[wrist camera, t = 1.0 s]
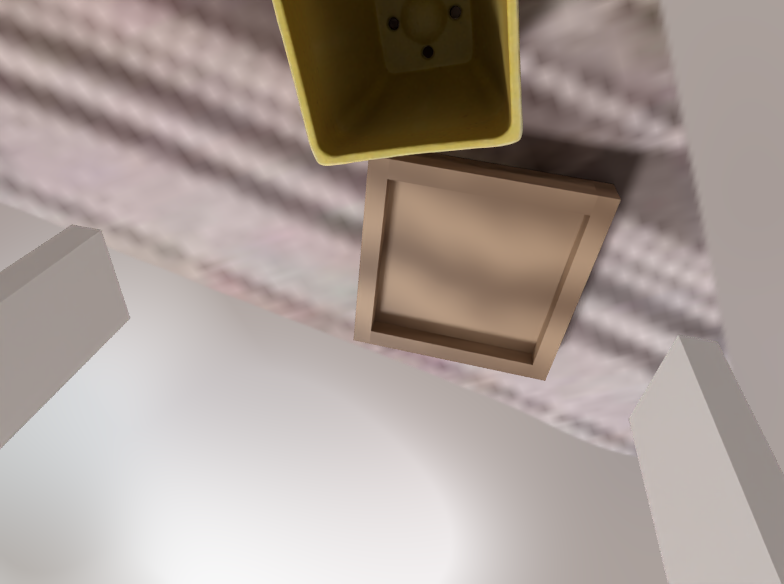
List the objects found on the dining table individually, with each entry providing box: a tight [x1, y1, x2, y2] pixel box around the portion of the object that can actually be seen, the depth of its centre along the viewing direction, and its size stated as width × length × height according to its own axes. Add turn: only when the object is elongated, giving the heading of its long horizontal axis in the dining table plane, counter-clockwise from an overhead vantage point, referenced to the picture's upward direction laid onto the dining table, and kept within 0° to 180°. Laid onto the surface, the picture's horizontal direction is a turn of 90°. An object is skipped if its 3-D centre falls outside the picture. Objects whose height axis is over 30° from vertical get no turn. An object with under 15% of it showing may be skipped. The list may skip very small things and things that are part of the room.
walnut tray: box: [354, 153, 621, 381], centre depth 32 cm, size 14×14×2 cm
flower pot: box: [272, 0, 523, 166], centre depth 21 cm, size 9×9×9 cm
